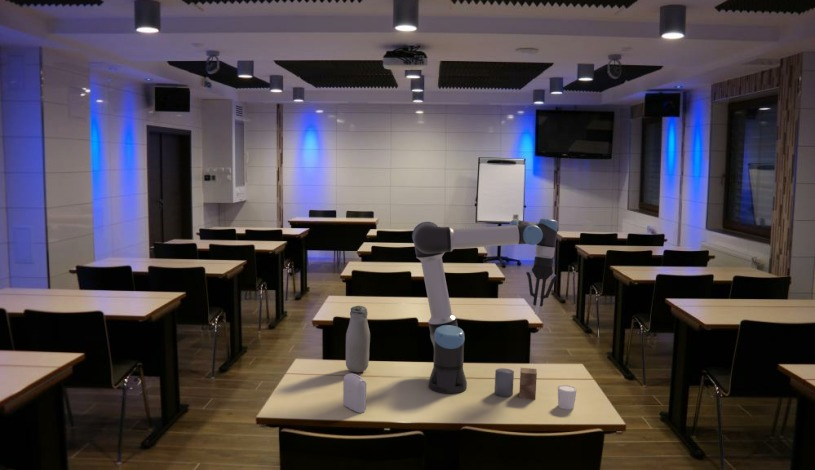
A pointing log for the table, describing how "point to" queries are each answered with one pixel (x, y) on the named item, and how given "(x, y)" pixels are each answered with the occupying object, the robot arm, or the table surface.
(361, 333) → the grey bottle
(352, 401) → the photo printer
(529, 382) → the walnut block
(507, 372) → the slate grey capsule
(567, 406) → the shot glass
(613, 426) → the table surface
